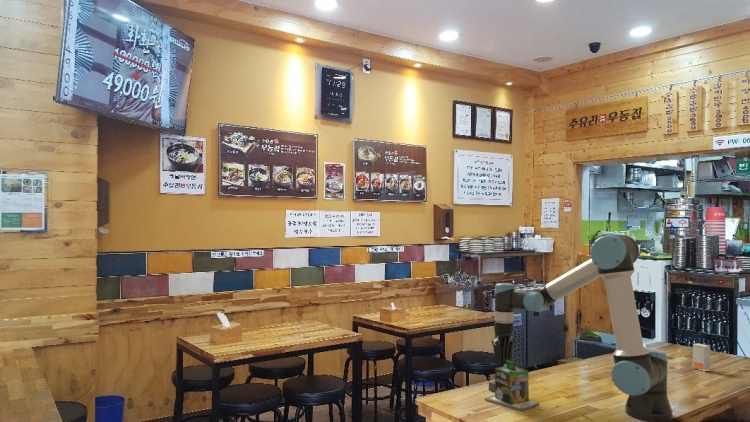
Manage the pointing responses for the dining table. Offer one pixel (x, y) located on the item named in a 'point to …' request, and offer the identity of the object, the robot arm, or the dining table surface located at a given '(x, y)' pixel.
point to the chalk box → (511, 384)
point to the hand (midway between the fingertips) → (502, 380)
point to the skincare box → (701, 356)
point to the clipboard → (516, 406)
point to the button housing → (492, 386)
